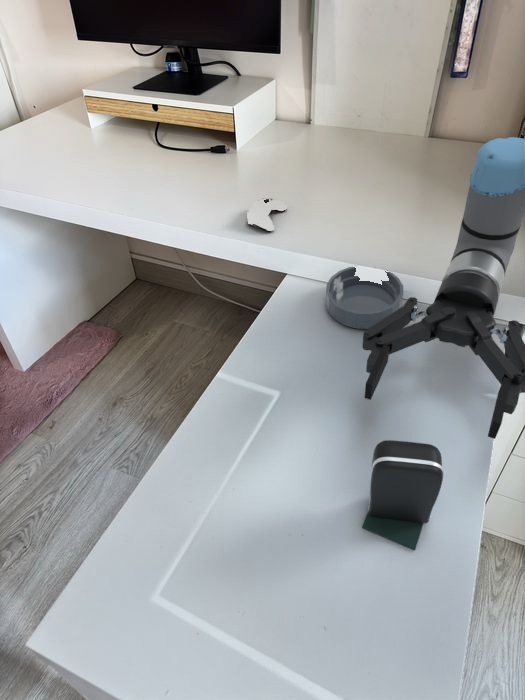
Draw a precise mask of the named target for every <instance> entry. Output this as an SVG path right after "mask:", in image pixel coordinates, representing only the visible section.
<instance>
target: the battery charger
mask: <svg viewBox="0 0 525 700" xmlns="http://www.w3.org/2000/svg"><path fill="white" fill-rule="evenodd" d="M372 455H373V456H372V461H371V468H370V469H371V470H370V479H369V499H368V500H369V501H368V506H367V512H368V511H369V515H370V516H372V517H378V518H385V519H393V520H401V521H409V522H418V523H423V524H428V523H429V522H430V518H431V514H432V511H433V508H434V506H435V504H436V502H437V499H438V497H439V494H440V492H441V488H442V484H443V481H444V476H445V475H444V473H445V471H444V467H443V459H442V453H441V452H440V449H439V448H438V447H437V446H435V445H433V444H431V443H425V442H424V443H423V442H413V441H403V440H392V439H391V440H390V439H387V440H386V439H385V440H382V441H379V442H378V443H377V444H376V446H375V447H374V450H373V454H372Z"/></svg>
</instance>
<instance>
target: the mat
mask: <svg viewBox="0 0 525 700" xmlns="http://www.w3.org/2000/svg"><path fill="white" fill-rule="evenodd" d="M423 527H424V523H418V522H409V521H401V520H393V519H385V518H378V517H372V516H370V515H369V511H368V510H367V513H366V516H365V518H364V521H363V523H362V526H361V529H363V530H366V531H368V532H371V533H373V534H375V535H378V536H380V537H382V538H385V539H387V540H390V541H392V542H394V543H397V544H399V545H401V546H403V547H406V548H408V549H411V550H414V551H416V549H417V547H418V546H417V545H418V542H419V539H420V537H421V536H420V535H421V533H422V529H423Z"/></svg>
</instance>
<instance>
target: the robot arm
mask: <svg viewBox="0 0 525 700" xmlns="http://www.w3.org/2000/svg"><path fill="white" fill-rule="evenodd" d="M462 215H463V216H462V220H461V223H460V227H459V232H458V237H457V242H456V246H455V249H454V251H453V254H452V257H451V260H450V262H449V264H448V266H447V268H446V271H445V274H444V276H443V279H442V281H441V284H440V286H439V288H438V290H437V293H436V296H435V298H434V301H433V303H432V304H430V305H428V306H427V305H423V304H419V303H418V299H417V298H416V297H415V296H410V297H408V299H407V300H406V301H405V303H404V304H403V305H402V307H401V308H400V309H398V310H397V311H395V312H394V313H392V314H390V315H389V316H387V317H386V318H384V319H383V320H381V321H380V322H378V323H376V324H375V325H373V326H372V327H370V328H369V329H365V330H364V331H363V333H362V334H363V335H362V349H363V350H364V351H370V353H369V355H368V358H367V359H366V367H365V372H366V373H369V375H368V377H367V379H366V381H365V388H364V391H365V392H364V399H367V400H369V401H371V400H372V399H373V396H374V394H375V392H376V389H377V387H378V386H379V385H378V384H379V383H380V381H381V379H382V376H383V374H384V371H385V369H386V367H387V364H388V362H389V356H390V355H392V354H394V353H396V352H397V353H398V352H399V351H402V350H404V349H407V348H409V347H412V346H415V345H417V344H419V343H422V342H424V343H429V342H431V341H434V340H436V339H438V341H439V342H441V343H442V342H443V343H447V344H454V345H456V346H458V347H462V348H465V347H467V346H468V347H469V348H470V350H471V352H472V353H473V354H474V355H475V356H478V357H479V358H480V359H481V360H482V362H483V363H484V364H485V365H486V367H487V368H488V370H489V371H490V372H491V373H492V375H493V376H494V378H496V380H497V381H498V383H499V384H500V387H499V390H498V392H497V397H496V400H495V404H494V409H493V413H492V416H491V422H490V425H489V429H488V433H487V437H488V438H491V439H494V440H496V438H497V436H498V433H499V431H500V428H501V426H502V424H503V418H504V414H508V415H513V414H514V413H515V411H516V408H517V406H518V405H519V404H518V403H519V400H520V399H519V398H520V394H525V341H524V340H523V337H522V336H521V323H520V322H519V321H517V320H515V319H514V320H510V321H509V322H508V324H506V323H505V324H504V323H499V322H496V320H495V318H494V317H495V313H496V310H497V306H498V303H499V299H500V296H501V292H502V288H503V286H504V285H503V284H504V282H505V277H506V272H507V270H508V266H509V264H510V260H511V258H512V255H513V252H514V249H515V245H516V241H517V238H518V234H519V232H520V229H521V226H522V222H523V220H524V216H525V138H521V137H513V136H509V137H506V138H502V137H498V138H493V139H491V140H488V141H487V142H485V143H484V144H483V145H481V147H480V148H479V150H478V152H477V154H476V159H475V161H474V165H473V169H472V171H471V173H470V177H469V186H468V192H467V196H466V200H465V206H464V211H463V214H462ZM420 317H423V318H422V319H421V320H420V321H417V322H416V320H417V319H419V318H420ZM411 322H415V323H412V324H410V323H411ZM409 324H410V325H409ZM492 335H496V336H497V337H498V339H499V343H500V344H503V348H504V350H505V352H504V351H503V350H502V349H501V348H500V347H499V345H498V344H497V343H496V342H495V340H494V339H493V336H492ZM505 353H506V354H505Z"/></svg>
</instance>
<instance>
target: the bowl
mask: <svg viewBox="0 0 525 700" xmlns="http://www.w3.org/2000/svg"><path fill="white" fill-rule="evenodd" d="M355 272H356V268H355V267H353V266H348V267H345V268H343V269H341V270H339V271H337V272H336V273H334V274H333V275H332V276H331V277H330V278H329V280H328V282H327V283H326V288H325V306H326V309H327V312H328V314H329V315H330V316H331V317H332V318H333V320H334V321H336V322H338V323H339V324H341V325H344V326H346V327H350V328H353V329H358V330H359V329H362V330H367V329H369V328H370V327H372V326H373V325H375V324H376V323H378V322H380V321H381V320H383V319H384V318H386V317H387V316H389V315H390V314H392V313H394V312H395V311H397V310H398V309H400V308H401V307H403V300H404V285H403V283H402V280H400V278H399V277H398V276H397V275H395V274H394V273H393V272H392V271H390V272H386V271H385V272H386V273H387V276H388V278H389V281H382V280H381V281H382V285H381V284H378V283H374V282H370V281H359V280H360V278H359V277H358V276H354V275H355ZM391 272H392V273H391Z"/></svg>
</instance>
